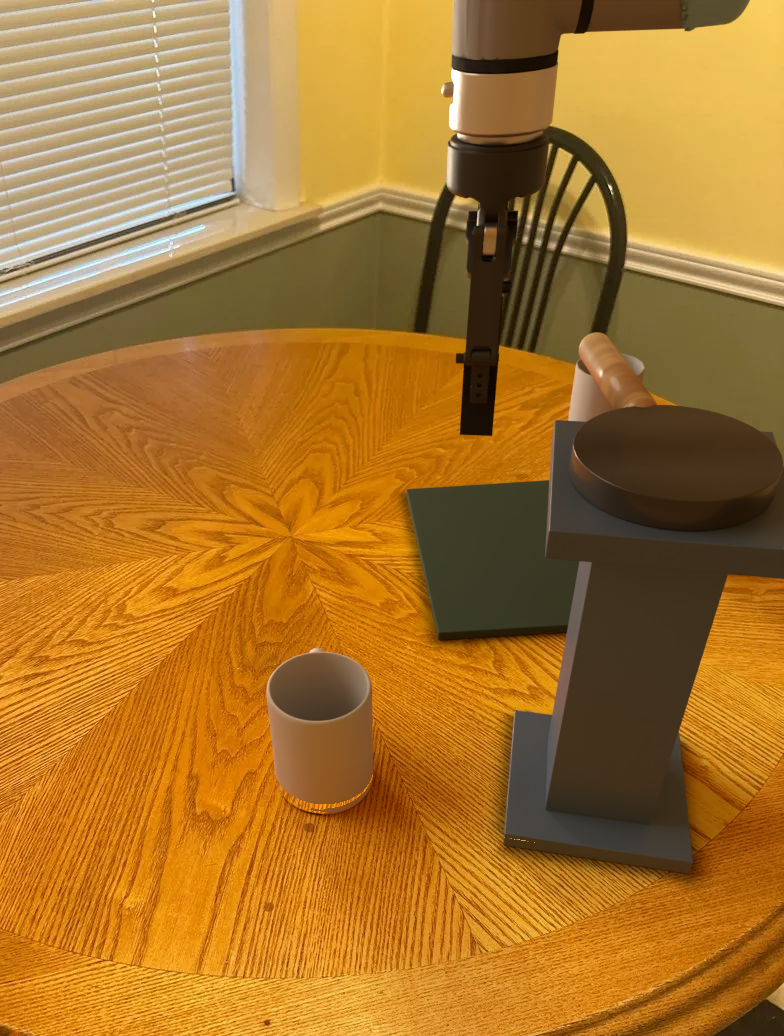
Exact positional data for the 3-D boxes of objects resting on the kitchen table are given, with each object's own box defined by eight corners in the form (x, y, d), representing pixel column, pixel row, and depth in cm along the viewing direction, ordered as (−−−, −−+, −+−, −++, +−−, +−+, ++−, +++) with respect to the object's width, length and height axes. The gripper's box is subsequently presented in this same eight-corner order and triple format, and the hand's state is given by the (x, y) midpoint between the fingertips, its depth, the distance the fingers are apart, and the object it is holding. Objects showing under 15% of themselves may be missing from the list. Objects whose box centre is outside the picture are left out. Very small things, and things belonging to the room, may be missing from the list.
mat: (406, 495, 112) (406, 488, 111) (549, 486, 111) (550, 479, 111) (438, 640, 90) (438, 632, 90) (615, 629, 90) (617, 622, 89)
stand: (675, 741, 78) (773, 431, 59) (689, 874, 68) (812, 552, 49) (513, 721, 81) (554, 419, 62) (502, 845, 71) (548, 530, 52)
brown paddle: (810, 524, 51) (823, 488, 49) (598, 538, 51) (605, 501, 49) (665, 352, 69) (672, 322, 68) (511, 362, 69) (514, 332, 68)
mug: (378, 812, 74) (377, 720, 67) (276, 819, 74) (265, 727, 67) (365, 710, 83) (364, 620, 76) (274, 716, 83) (264, 626, 76)
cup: (618, 456, 116) (632, 384, 110) (557, 442, 120) (567, 371, 113) (638, 429, 121) (652, 358, 115) (579, 416, 125) (590, 347, 118)
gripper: (458, 101, 77) (448, 341, 90) (434, 176, 58) (425, 464, 72) (548, 98, 75) (523, 343, 89) (552, 174, 57) (520, 469, 70)
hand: (479, 398), depth 80 cm, fingers open, 13 cm apart
